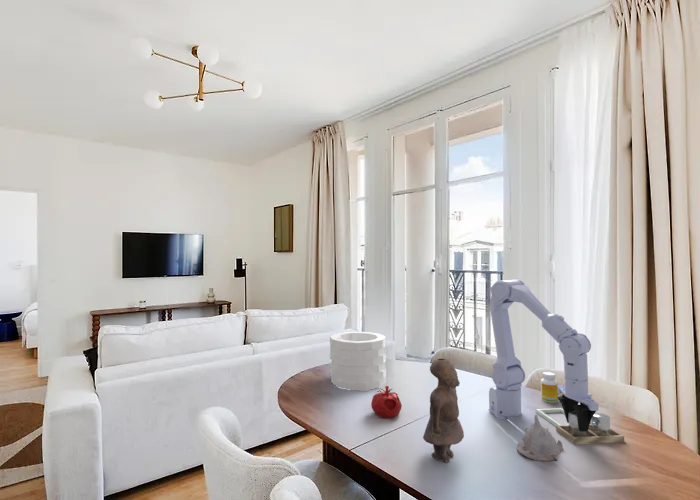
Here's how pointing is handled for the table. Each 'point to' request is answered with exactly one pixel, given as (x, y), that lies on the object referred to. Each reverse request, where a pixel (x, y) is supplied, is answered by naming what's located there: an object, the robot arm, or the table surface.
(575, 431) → the billet
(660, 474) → the table surface
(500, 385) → the robot arm
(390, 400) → the pomegranate
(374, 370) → the basket
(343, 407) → the table surface
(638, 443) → the table surface
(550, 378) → the supplement bottle
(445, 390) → the clay figurine
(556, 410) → the pale green tray
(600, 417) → the cylinder
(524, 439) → the seashell
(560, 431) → the divided tray
